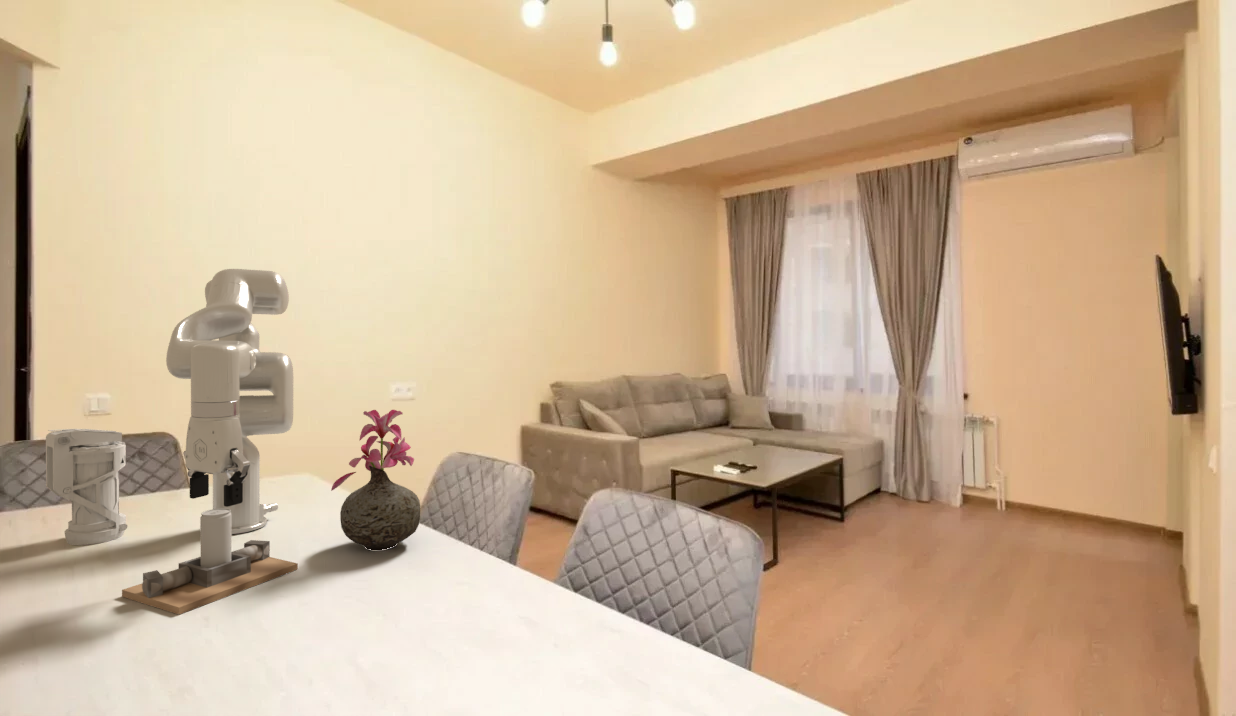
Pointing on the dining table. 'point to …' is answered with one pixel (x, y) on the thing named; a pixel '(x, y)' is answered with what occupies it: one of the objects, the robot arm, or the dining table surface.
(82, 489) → the lantern
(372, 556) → the dining table surface
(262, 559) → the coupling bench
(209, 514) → the beverage can
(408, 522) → the vase
